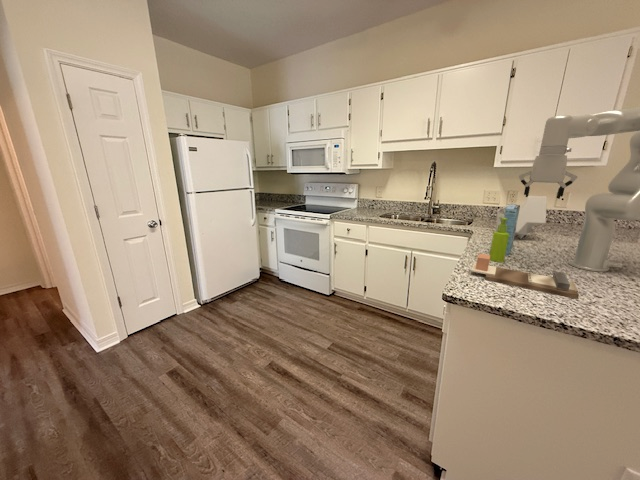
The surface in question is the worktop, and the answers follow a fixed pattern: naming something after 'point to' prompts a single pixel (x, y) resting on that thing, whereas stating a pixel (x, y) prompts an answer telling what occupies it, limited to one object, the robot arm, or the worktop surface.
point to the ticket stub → (483, 265)
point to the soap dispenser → (499, 242)
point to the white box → (527, 215)
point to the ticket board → (536, 282)
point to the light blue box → (511, 224)
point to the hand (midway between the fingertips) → (541, 197)
